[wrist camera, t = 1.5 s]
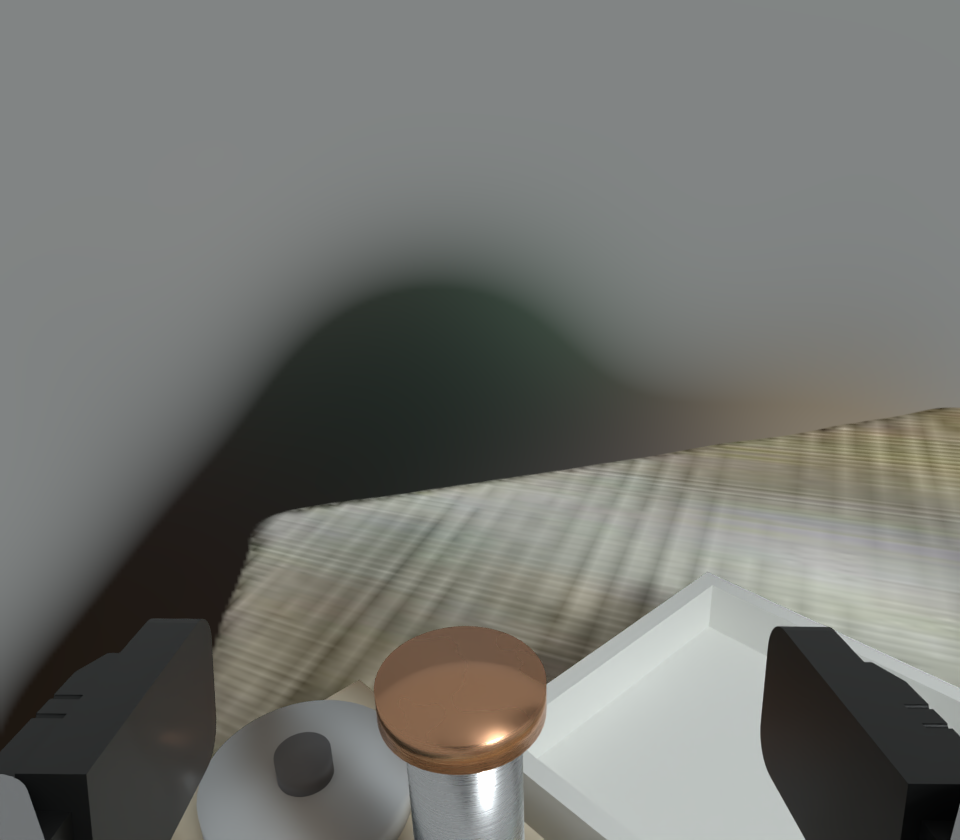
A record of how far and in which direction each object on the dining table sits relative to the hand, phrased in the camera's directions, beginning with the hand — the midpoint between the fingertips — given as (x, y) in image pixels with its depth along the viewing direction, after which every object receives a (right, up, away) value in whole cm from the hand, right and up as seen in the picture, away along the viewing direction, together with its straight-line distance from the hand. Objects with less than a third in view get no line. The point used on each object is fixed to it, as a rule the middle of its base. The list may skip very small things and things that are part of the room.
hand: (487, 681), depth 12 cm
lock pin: (0, -19, +18) cm, 26 cm away
